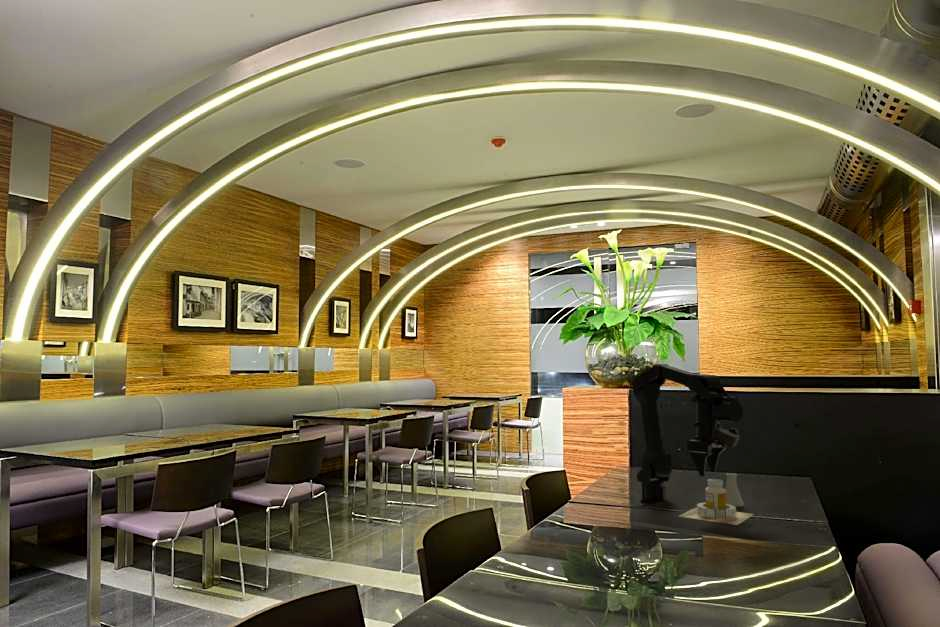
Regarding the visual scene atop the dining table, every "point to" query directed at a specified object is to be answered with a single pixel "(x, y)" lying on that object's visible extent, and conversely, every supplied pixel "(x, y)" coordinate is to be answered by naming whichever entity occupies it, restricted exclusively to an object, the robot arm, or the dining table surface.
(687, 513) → the birch base plate
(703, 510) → the steel ring collar
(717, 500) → the supplement bottle
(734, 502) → the flask
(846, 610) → the dining table surface
